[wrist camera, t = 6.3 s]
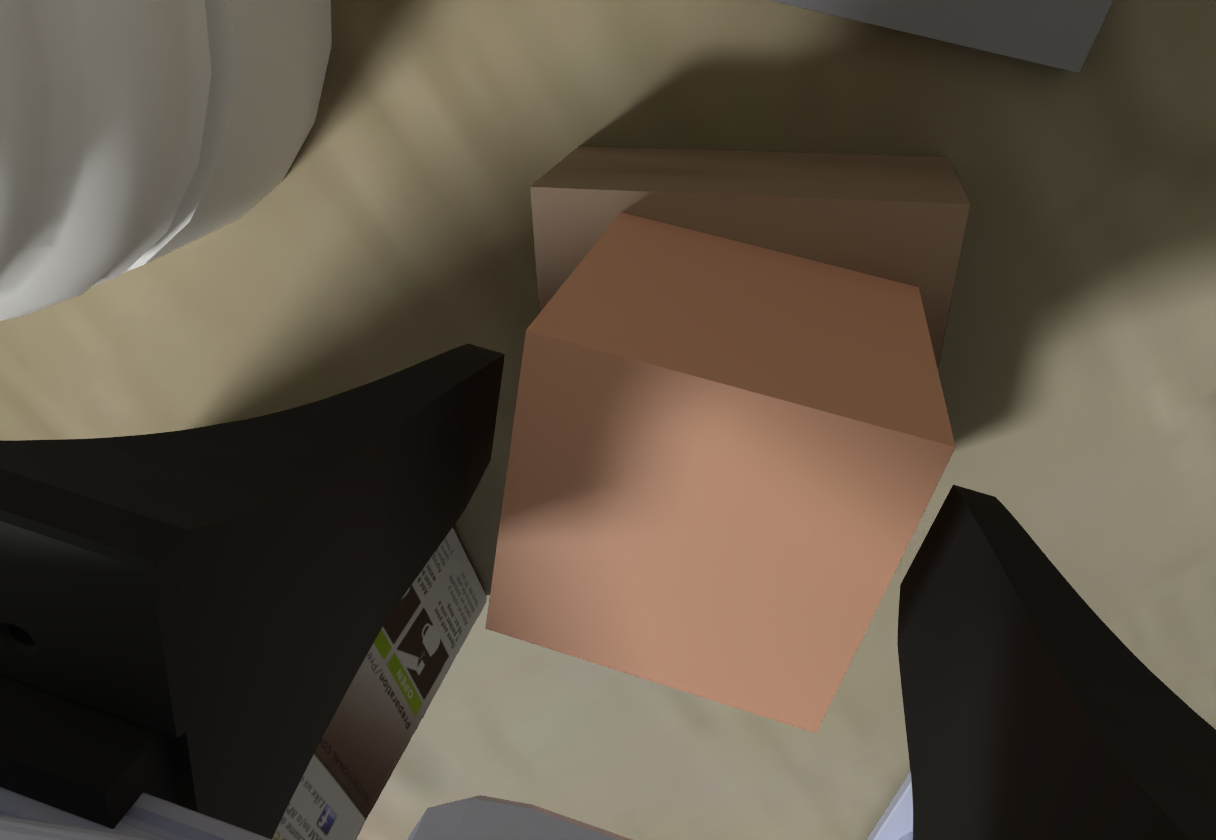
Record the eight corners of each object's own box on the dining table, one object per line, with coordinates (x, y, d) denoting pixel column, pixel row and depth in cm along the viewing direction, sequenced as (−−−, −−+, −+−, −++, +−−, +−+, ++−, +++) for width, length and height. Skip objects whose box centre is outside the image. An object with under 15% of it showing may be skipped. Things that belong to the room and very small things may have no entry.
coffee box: (398, 408, 21) (-390, 1256, 8) (494, 600, 24) (37, 1480, 10) (144, 463, 24) (-719, 1122, 11) (253, 626, 27) (-333, 1318, 14)
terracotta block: (822, 524, 16) (816, 733, 12) (575, 453, 17) (485, 628, 12) (918, 287, 13) (956, 447, 9) (621, 211, 14) (525, 330, 10)
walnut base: (889, 465, 19) (899, 562, 16) (594, 434, 20) (553, 518, 18) (945, 152, 15) (970, 204, 13) (583, 142, 17) (530, 186, 14)
